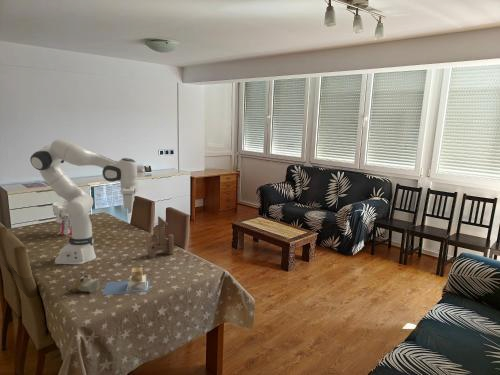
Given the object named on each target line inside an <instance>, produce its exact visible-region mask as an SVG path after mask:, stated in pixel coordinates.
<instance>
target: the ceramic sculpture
mask: <svg viewBox="0 0 500 375" xmlns="http://www.w3.org/2000/svg"><path fill="white" fill-rule="evenodd" d="M99 288H100V280H99V278H96V279H93V278H92V277H91V276H90V275H87V274H85V275H84V276H81V277H80V278H78V279H77V280H76V281H75V286H71V287H70V288H66V289H65V290H66V291H68V292H70V293H78V292H86V293H87V292H89V293H90V294H92V293H95V292H97V291H98V289H99Z"/></svg>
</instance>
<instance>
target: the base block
mask: <svg viewBox="0 0 500 375" xmlns="http://www.w3.org/2000/svg"><path fill="white" fill-rule="evenodd" d="M146 280H147V275H146V274H143V277H142V281H132V276H131V275H130V276H129V280H128V281H129V283H128V284H129V290H142V289H145V288H146Z"/></svg>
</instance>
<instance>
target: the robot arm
mask: <svg viewBox="0 0 500 375" xmlns="http://www.w3.org/2000/svg"><path fill="white" fill-rule="evenodd" d="M65 162H67V164H70V165H74V166H77V167H81V166H82V167H84V166H95V167H99V168H102V177H103V178H104V180H105V181H106V182H110V183H113V182H119V184H120V194H121V195H122V201H123V207H124V209H127V213H128V214H132V213H133V212H132V211H133V206H134V202H135V195H136V192H138V190H139V189H138V187H139V186H138V166H137V162H136V161H135V160H134V159H133V158H128V157H124V158H123V157H122V158H120V160H118V161H117V160H113V159H110V158H108V157H106V156H103V155H101V154H98V153H95V152H94V151H91V150H89V149H87V148H85V147H83V146H81V145H78V144H77V143H74V142H72V141H70V140H67V139H62V138H57V139H55V140H53V141H52V142H51V144H49V145H46V146H44V147H43V148H41V149H39V150H37V151H35V152H34V153H33V154H32V155H31V156H30V163H31V166H32V167H33V168H34V169H35V170H37V171H39V174H40V175H41V177H42V178H43V180H44V181H45V183H46V184H48V186H49V187H50V188H51V189H52V190H53V192H55V194H56V195H57V196H59V197H60V198H62V199H64V200H67V201H68V202H69V203H68V205H67V207H66V212H67V214H68V215H69V218H70V222H71V228H72V235H71V234H70V235H69V238H68V239H67V242H68V243H67V244H65V246H63V247H62V248H61V249H60V251H59V253H58V256H57V257H55V259H54V264H56V265H83V264H84V263H88V262H91V261H94V260H95V259H96V258H97V255H96V253H95V248H94V242H95V241H94V235H93V227H92V225H93V224H92V221H91V219H90V214H89V212H90V210H91V209H92V208H93V207H94V206H93V205H94V198H93V197H92V196H91V195H90V194H88V193H87V192H85V191H84V190H83V189H82V188H80V187H79V186H78V185H77V184H75V182H74V180H72V179H71V178H70V177H69V176H68V174H66V173H65V171H64V170H63V169H62V167H61V164H64V163H65Z"/></svg>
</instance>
